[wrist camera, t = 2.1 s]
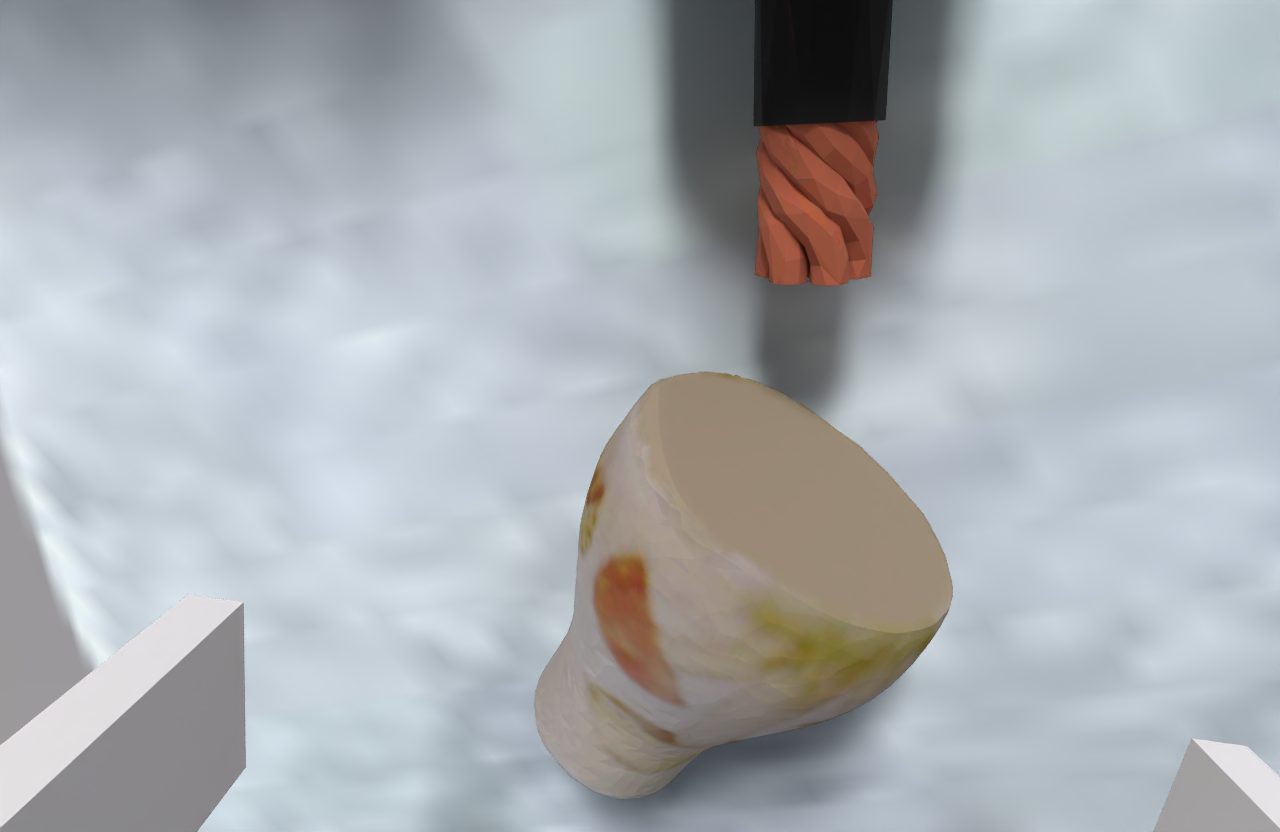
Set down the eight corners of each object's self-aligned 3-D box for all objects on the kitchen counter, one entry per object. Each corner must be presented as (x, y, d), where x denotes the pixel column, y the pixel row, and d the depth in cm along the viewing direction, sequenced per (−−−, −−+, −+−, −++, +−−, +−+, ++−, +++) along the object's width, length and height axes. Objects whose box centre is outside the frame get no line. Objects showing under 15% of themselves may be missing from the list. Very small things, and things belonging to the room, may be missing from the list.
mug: (474, 668, 20) (347, 721, 10) (684, 396, 22) (739, 231, 13) (696, 850, 19) (782, 1094, 9) (892, 548, 21) (1125, 495, 12)
